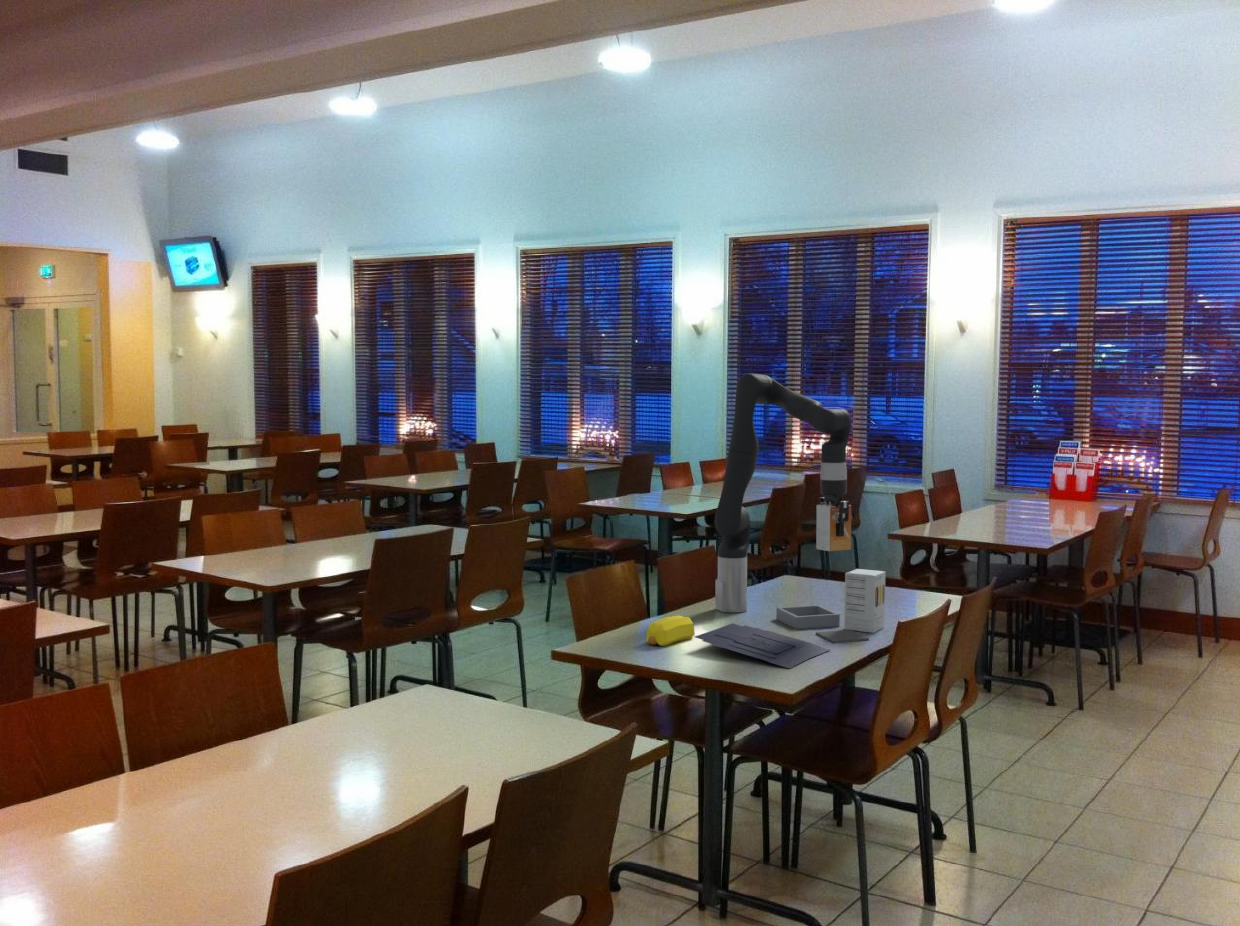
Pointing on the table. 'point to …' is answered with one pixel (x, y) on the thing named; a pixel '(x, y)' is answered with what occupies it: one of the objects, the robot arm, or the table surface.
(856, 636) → the charcoal mat
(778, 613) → the grey bin
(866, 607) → the supplement box
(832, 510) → the small box
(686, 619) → the yellow faceted capsule
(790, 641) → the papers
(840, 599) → the table surface
